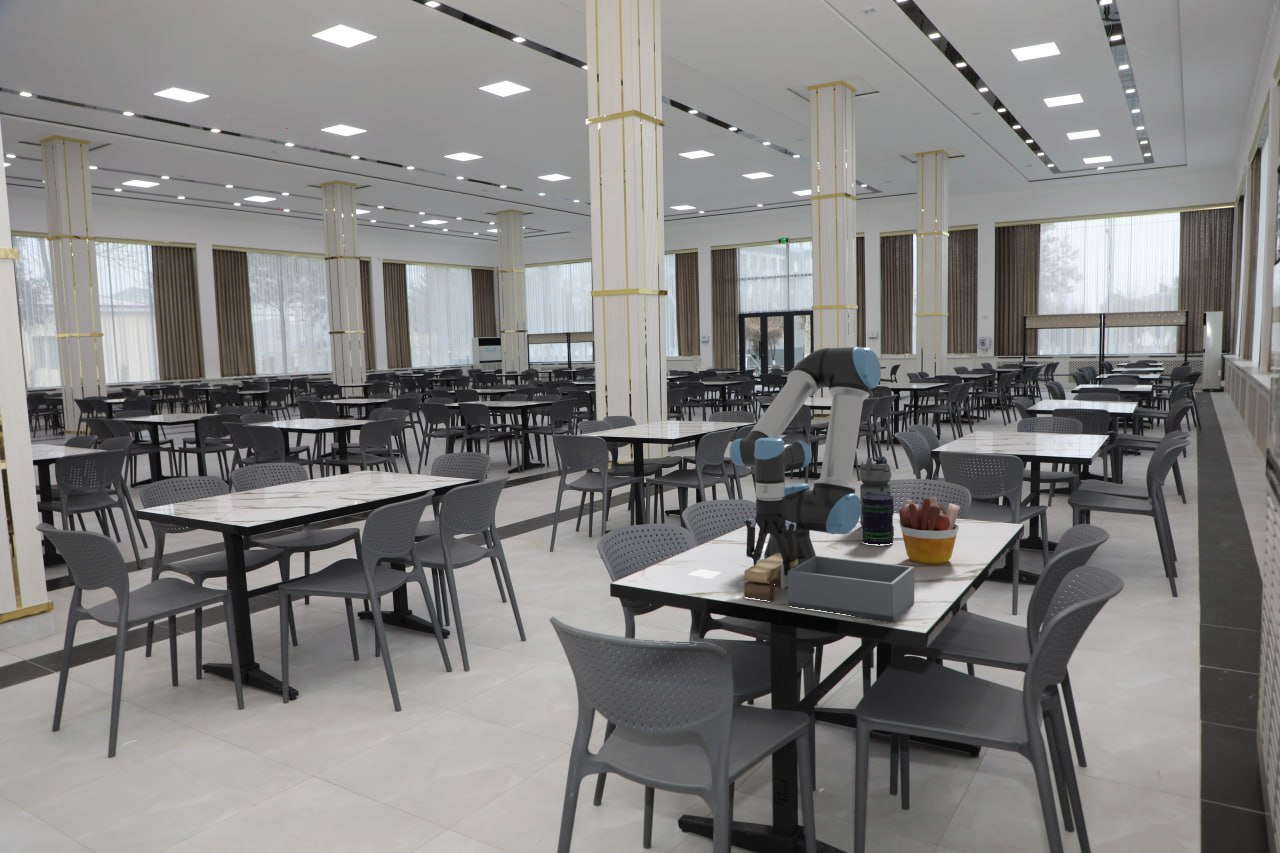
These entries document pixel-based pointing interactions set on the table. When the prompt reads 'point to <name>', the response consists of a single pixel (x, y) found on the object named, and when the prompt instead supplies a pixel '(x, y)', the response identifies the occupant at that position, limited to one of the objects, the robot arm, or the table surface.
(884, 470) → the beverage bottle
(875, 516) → the storage jar
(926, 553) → the bucket of meat
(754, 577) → the shelf board
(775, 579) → the wooden blocks
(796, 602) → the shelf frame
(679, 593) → the table surface
